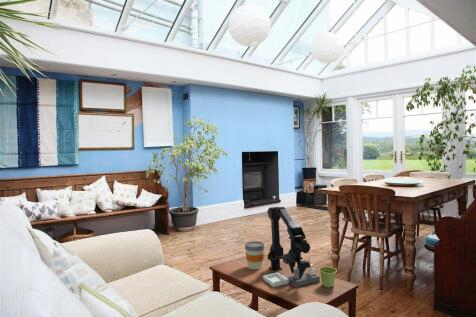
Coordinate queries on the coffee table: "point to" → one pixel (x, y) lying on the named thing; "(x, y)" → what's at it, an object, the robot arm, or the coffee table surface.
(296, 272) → the cream capped cylinder
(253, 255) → the reusable coffee cup
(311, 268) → the cylinder
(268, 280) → the parts tray
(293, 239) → the robot arm
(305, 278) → the fuse holder
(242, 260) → the coffee table surface
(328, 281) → the plant pot
